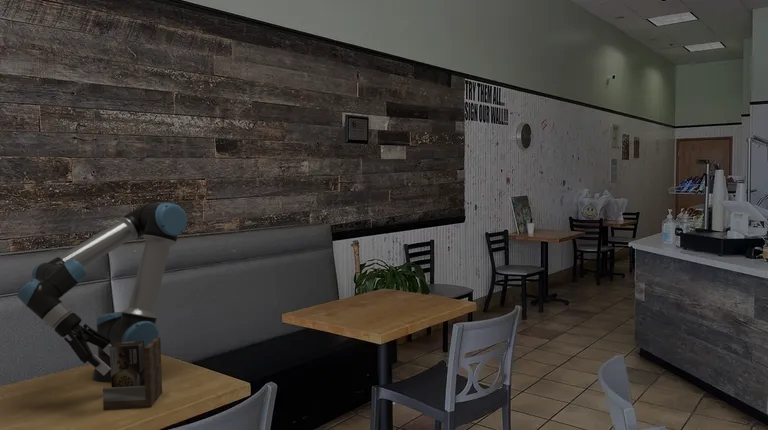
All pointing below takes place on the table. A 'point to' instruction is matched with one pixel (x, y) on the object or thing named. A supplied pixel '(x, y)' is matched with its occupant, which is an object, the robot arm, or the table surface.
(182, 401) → the table surface
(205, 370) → the table surface
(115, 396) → the walnut shelf slot
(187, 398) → the table surface
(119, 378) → the coffee box
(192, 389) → the table surface
